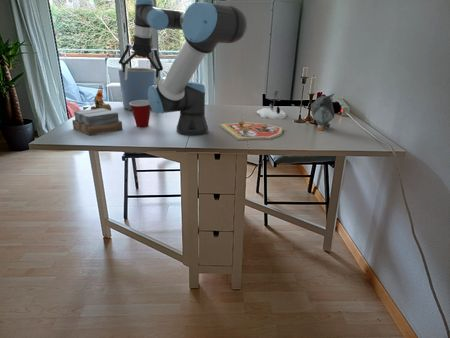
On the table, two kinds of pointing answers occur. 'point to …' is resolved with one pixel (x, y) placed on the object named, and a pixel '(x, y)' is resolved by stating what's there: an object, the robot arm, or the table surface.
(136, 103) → the plastic cup
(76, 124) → the stack of books
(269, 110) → the figurine
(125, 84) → the planter
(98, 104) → the orange brown statuette
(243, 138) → the knob puzzle
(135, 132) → the table surface
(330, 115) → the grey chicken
